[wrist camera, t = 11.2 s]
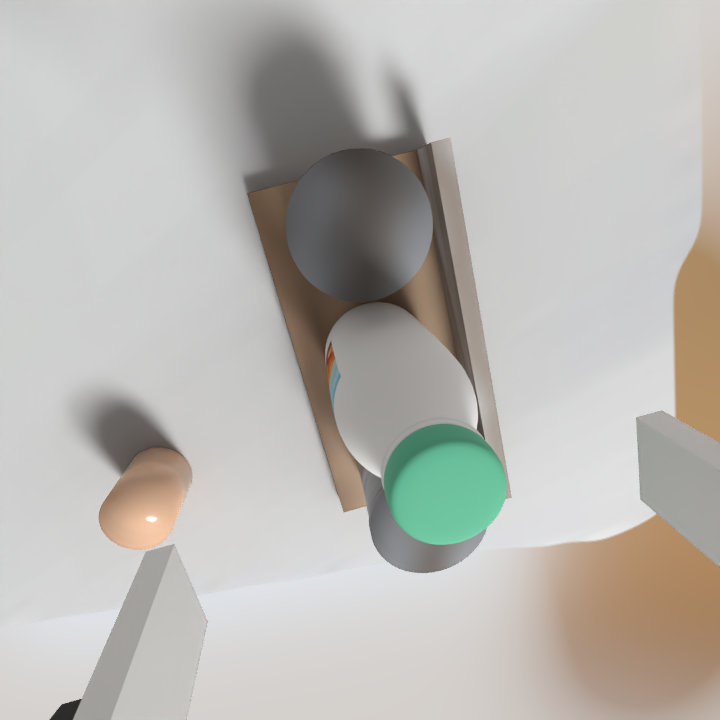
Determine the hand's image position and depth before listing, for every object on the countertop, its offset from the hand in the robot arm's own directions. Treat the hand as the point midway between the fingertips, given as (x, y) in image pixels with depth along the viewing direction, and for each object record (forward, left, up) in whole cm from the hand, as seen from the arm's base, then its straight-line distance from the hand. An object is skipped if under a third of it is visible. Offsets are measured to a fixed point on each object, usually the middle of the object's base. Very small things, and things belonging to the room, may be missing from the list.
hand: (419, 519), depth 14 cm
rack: (+2, -3, -25) cm, 26 cm away
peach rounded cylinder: (-18, -9, -26) cm, 32 cm away
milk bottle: (+2, -3, -24) cm, 24 cm away
